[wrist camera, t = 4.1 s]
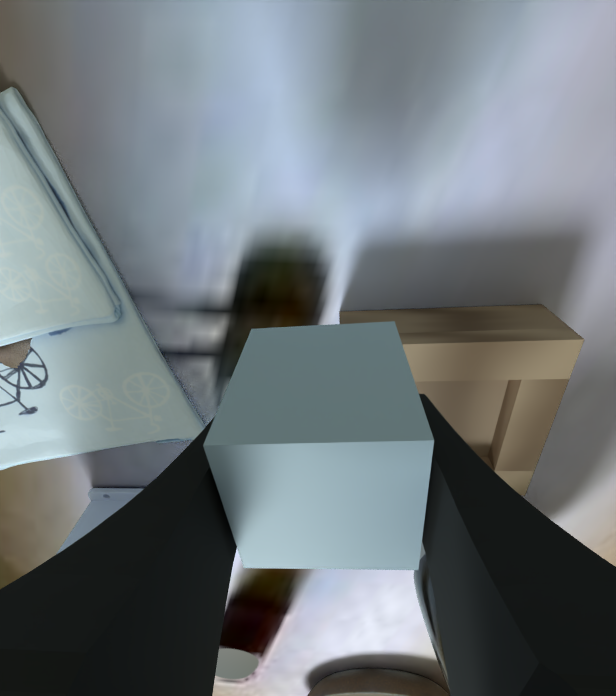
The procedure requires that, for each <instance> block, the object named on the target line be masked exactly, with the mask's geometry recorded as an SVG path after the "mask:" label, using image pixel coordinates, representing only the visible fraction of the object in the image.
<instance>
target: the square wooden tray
mask: <svg viewBox="0 0 616 696" xmlns="http://www.w3.org/2000/svg"><path fill="white" fill-rule="evenodd" d="M339 314H340V324H354V323H372V322H391V321H395V324H396V327H397V330H398V333H399V336H400V339H401V342H402V345H403V348H404V351H405V354H406V357H407V360H408V363H409V366H410V369H411V372H412V375H413V378H414V381H415V384H416V387H417V390H418V393H419V394H425V395H426V396H427V397H428V398H429V399H430V401H431V402H432V403H433V404H434V406H435V407H436V408H437V409H438V411H439V412H440V413H441V414H442V416H443V417H444V418H445V419H446V420H447V422H448V423H449V424H450V425H451V426H452V427H453V429H454V430H455V431H456V432H457V433H458V434H459V435H460V436H461V437H462V439H463V440H464V441H465V442H466V443H467V444H468V445H469V446H470V447H471V448H472V449H473V451H474V452H475V453H476V454H477V455H478V456H479V457H480V458H481V459H482V460H483V461H484V462H485V463H486V464H487V465H488V466H489V467H490V468H491V469H492V470H493V471H494V472H495V473H496V474H497V475H499V476H500V477H501V478H502V479H503V480H504V481H505V482H506V483H507V484H508V485H509V486H510V487H512V488H513V489H514V490H515V491H516V492H517V493H518V494H520V495H523V496H525V494H526V492H527V489H528V486H529V484H530V481H531V478H532V476H533V473H534V471H535V468H536V465H537V463H538V460H539V457H540V455H541V452H542V450H543V447H544V444H545V442H546V439H547V436H548V434H549V431H550V428H551V426H552V423H553V421H554V418H555V415H556V413H557V410H558V407H559V405H560V402H561V400H562V397H563V394H564V392H565V389H566V386H567V384H568V381H569V379H570V376H571V373H572V371H573V368H574V365H575V363H576V360H577V358H578V355H579V352H580V350H581V347H582V344H583V342H584V339H583V338H582V337H581V336H580V335H578V334H577V333H576V332H575V331H574V330H572V329H571V328H570V327H569V326H568V325H566V324H565V323H564V322H563V321H561V320H560V319H559V318H558V317H557V316H555V315H554V314H553V313H552V312H551V311H549V310H548V309H547V308H546V307H545V306H543V305H542V304H538V305H510V306H481V307H453V308H425V309H397V310H369V311H341V312H339Z"/></svg>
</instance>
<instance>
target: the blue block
mask: <svg viewBox="0 0 616 696" xmlns="http://www.w3.org/2000/svg"><path fill="white" fill-rule="evenodd" d="M433 446H434V438H433V435H432V432H431V429H430V426H429V423H428V420H427V417H426V414H425V411H424V408H423V405H422V402H421V399H420V396H419V393H418V390H417V387H416V384H415V381H414V378H413V375H412V372H411V369H410V366H409V363H408V360H407V357H406V354H405V351H404V348H403V345H402V342H401V339H400V336H399V333H398V330H397V327H396V324H395V321H391V322H372V323H354V324H335V325H317V326H298V327H280V328H262V329H251V332H250V334H249V337H248V339H247V341H246V344H245V346H244V349H243V351H242V353H241V356H240V358H239V361H238V363H237V365H236V368H235V370H234V373H233V375H232V377H231V380H230V382H229V385H228V387H227V389H226V392H225V394H224V397H223V399H222V401H221V404H220V406H219V409H218V411H217V413H216V416H215V418H214V421H213V423H212V425H211V428H210V430H209V433H208V435H207V437H206V440H205V442H204V445H203V447H204V450H205V453H206V456H207V459H208V462H209V465H210V468H211V471H212V474H213V477H214V480H215V483H216V486H217V489H218V492H219V495H220V498H221V501H222V504H223V507H224V510H225V513H226V516H227V519H228V522H229V525H230V528H231V531H232V534H233V537H234V540H235V543H236V546H237V549H238V552H239V555H240V558H241V561H242V564H243V567H244V568H291V569H373V570H418V569H419V561H420V552H421V544H422V536H423V528H424V520H425V512H426V503H427V495H428V487H429V479H430V471H431V463H432V454H433Z"/></svg>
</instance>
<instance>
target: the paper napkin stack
mask: <svg viewBox="0 0 616 696" xmlns="http://www.w3.org/2000/svg"><path fill="white" fill-rule="evenodd" d="M29 338H32V340H31V344H30V346H31V347H30V348H31V349H30V350H29V351H28V354H27V356H26V358H25V360H24V361H23V362H21V363H20V366H18V368H10V367H8V366H4V365H3V364H2V363H1V362H0V470H2V469H6V468H9V467H12V466H15V465H20V464H24V463H29V462H35V461H41V460H48V459H53V458H59V457H65V456H70V455H76V454H82V453H87V452H93V451H99V450H104V449H110V448H115V447H121V446H127V445H133V444H139V443H145V442H152V441H156V443H170V442H180V441H185V440H194V439H195V438H196V437H197V436H198V435H199V434H200V433H201V432H202V431H203V429H204V428H205V427H206V426H205V424H204V423H203V421H202V420H201V418H200V416H199V415H198V413H197V412H196V410H195V408H194V407H193V405H192V404H191V402H190V401H189V399H188V398H187V396H186V395H185V393H184V391H183V389H182V388H181V386H180V384H179V382H178V381H177V379H176V377H175V376H174V374H173V373H172V371H171V369H170V368H169V366H168V364H167V362H166V361H165V359H164V357H163V355H162V354H161V352H160V350H159V348H158V346H157V344H156V342H155V341H154V339H153V337H152V335H151V333H150V331H149V330H148V328H147V326H146V324H145V322H144V320H143V318H142V317H141V315H140V313H139V311H138V309H137V308H136V306H135V304H134V302H133V300H132V298H131V296H130V294H129V292H128V290H127V289H126V287H125V285H124V283H123V281H122V279H121V277H120V275H119V274H118V272H117V270H116V268H115V266H114V264H113V263H112V261H111V259H110V257H109V255H108V254H107V252H106V250H105V248H104V246H103V244H102V242H101V240H100V239H99V237H98V235H97V233H96V231H95V229H94V228H93V226H92V224H91V222H90V220H89V218H88V217H87V215H86V213H85V211H84V209H83V207H82V205H81V204H80V202H79V200H78V198H77V196H76V194H75V192H74V190H73V188H72V186H71V184H70V182H69V181H68V179H67V177H66V175H65V173H64V171H63V169H62V167H61V165H60V163H59V161H58V159H57V157H56V155H55V153H54V152H53V150H52V148H51V146H50V144H49V143H48V141H47V139H46V137H45V135H44V133H43V131H42V129H41V127H40V124H39V123H38V121H37V119H36V117H35V116H34V114H33V113H32V112H31V111H30V109H29V108H28V106H27V105H26V103H25V101H24V99H23V98H22V96H21V94H20V93H19V92H18V90H17V89H16V88H13V87H10V88H8V89H6V90H5V91H3V92H1V93H0V346H4V345H7V344H11V343H14V342H18V341H22V340H25V339H29ZM159 440H161V441H159Z"/></svg>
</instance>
